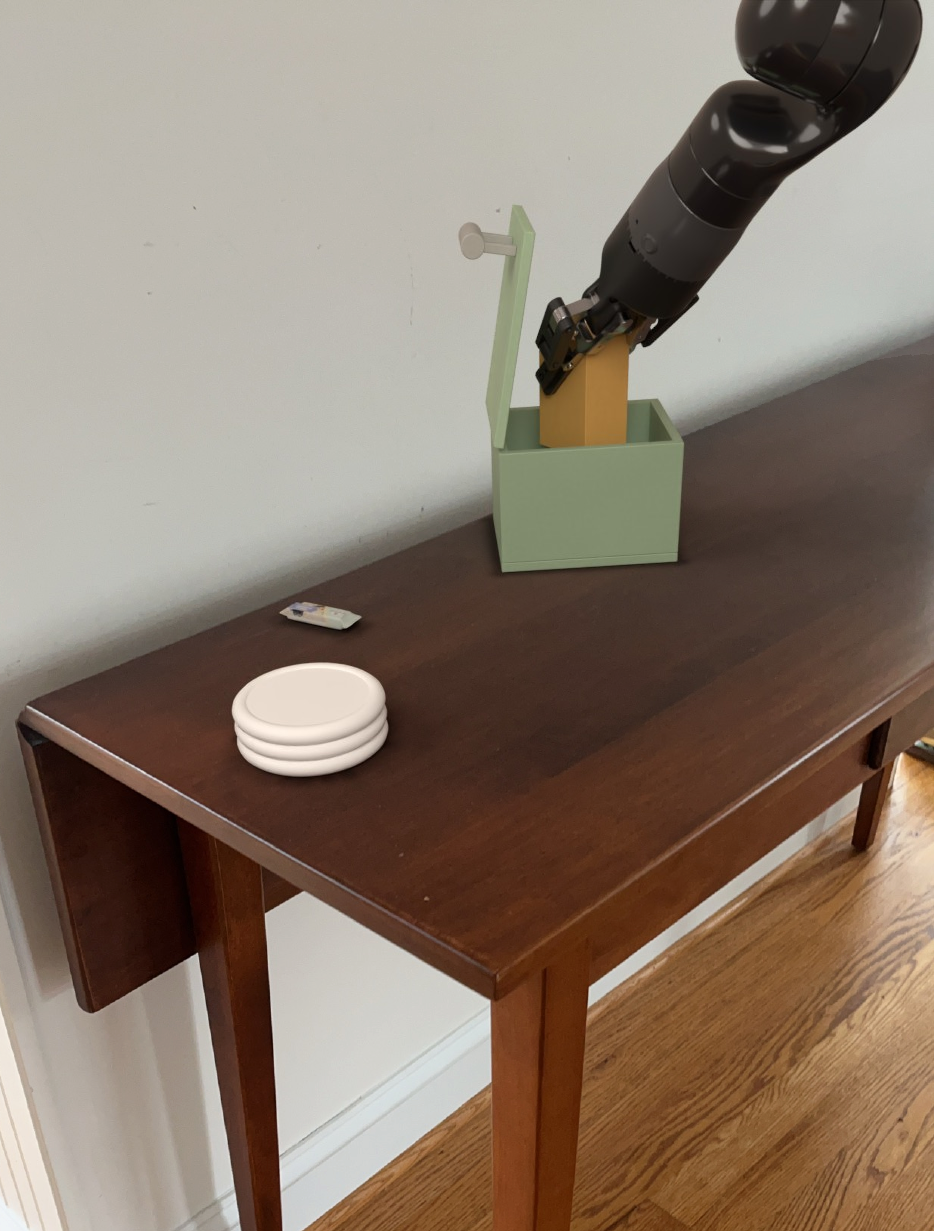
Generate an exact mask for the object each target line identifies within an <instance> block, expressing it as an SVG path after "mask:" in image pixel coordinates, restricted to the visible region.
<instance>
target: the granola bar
mask: <svg viewBox="0 0 934 1231" xmlns="http://www.w3.org/2000/svg"><path fill="white" fill-rule="evenodd" d="M278 613H279V614H281V615H283V616H286V617H287V619H288V620H289V619H290V620H292V621H297V622H302V623H307V624H311V625H316V626H321V627H325V628H329V629H333V630H343V629H347V628H349V627H351V626H352V625H353V624H354V623H356V622H357V621H359V620H360V619H362V616H361V615H359V614H355V613H353V612H352V611H350V610H346V609H341V608H336V607H332V606H331V607H330V606H327V605H322V604H317V603H312V602H306V601H301V600H296V601H295V602H293V603H292V604H290V605H289V606H287V607H285V608H284V609H282V610H281V611H279V612H278Z"/></svg>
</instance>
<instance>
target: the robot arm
mask: <svg viewBox="0 0 934 1231" xmlns="http://www.w3.org/2000/svg"><path fill="white" fill-rule="evenodd" d="M923 26H924V16H923V9H922V6H921V2H920V1H919V0H740V3H739V6H738V9H737V13H736V16H735V23H734V44H735V51H736V55H737V59H738V61H739V63H740V66H741V68H742V69H743V71H745V73H746V74H747V75H748V76H750V77H751V78H754V80H753V79H736V80H731V81H728V82H726V83H724V84H722V85H720V86H719V87H717V88H716V89H715V90H714V91H713V92H712V93H711V94H710V96H708V98H707V99H706V101H705V102H704V103H703V105H702V106H701V107H700V109H699V110H698V111H697V114H696V115H695V116H694V117H693V119H692V120H691V122H690V123H689V125H688V126H687V128H686V129H685V131H684V132H683V134H682V135H681V136H680V138H679V140H678V141H677V143H676V144H675V145H674V147H673V148H672V150H671V151H670V152H669V154H668V155H667V156H666V157H665V158H664V159H663V160H662V161H661V162H660V163H659V164H658V165H657V166H656V168H655V169H654V170H653V172H652V173H651V174H650V176H649V177H648V178H647V180H646V182H644V184H643V185H642V187H641V189H640V190H639V191H638V193H637V194H636V196H635V197H634V198H633V200H632V202H631V203H630V205H629V206H628V208H627V209H626V211H625V212H624V214H623V215H622V216H621V218H620V219H619V221H618V223H617V224H616V225H615V227H614V228H613V229H612V231H611V233H610V234H609V236H608V237H607V239H606V241H605V242H604V244H603V247H602V250H601V257H600V258H601V260H600V271H599V276H598V278H596V280H595V281H594V282H592V284H590V285H589V286H588V287H587V288H586V289H585V290H584V291H583V293H582V294H581V299H579V300H576V301H573V302H571V303H568V304H566V303H565V302H564V300H563V297H562V296H557V297H555V298H552V299H551V300H550V301H549V302H548V303H547V305H546V307H545V311H544V314H543V317H542V319H541V323H540V326H539V329H538V332H537V334H536V338H535V341H534V343H535V346H536V347H537V349H538V350H540V352H541V354H542V356H543V358H544V361H543V363H542V364H541V366H540V367H539V366H538V368H537V370H536V371H535V374H534V376H535V379H536V380H537V383H538V385H539V384H540V386H541V388H542V390H543V392H544V394H545V395H547V396H548V395H552V394H555V393H556V392H557V390H558V389H559V388H560V386H561V385H562V384H563V382H564V381H565V380H566V378H567V377H568V375H569V374H570V373H571V371H572V370H573V367H575V366H576V365H577V364H578V363H579V362H580V361H581V360H582V359H583V357H584V356H585V355H586V354H592V355H594V354H597V353H598V352H599V351H600V350H601V349H602V348H603V347H604V346H605V345H606V344H607V343H608V342H609V341H610V340H611V339H612V338H613V337H615V336H616V335H617V334H625V335H626V342H627V344H628V345H629V356H630V355H631V354H632V353H633V352H634V351H635V349H636V348H637V345H641V347H642V348H648V347H651V346H652V345H653V344H654V343H655V342H656V341H657V340H658V339H660V337H661V336H663V334H665V333H666V332H667V331H668V330H669V329H670V328H671V327H672V326H673V325H675V323H677V322H678V320H679V319H681V318H682V317H683V316H684V315H685V314H687V312H688V311H690V309H691V308H692V307H693V306H695V305H696V304H697V303H698V302H699V301H700V296H699V294H698V293H699V292H700V291H701V290H702V288H704V286H705V285H706V284H707V283H708V281H709V280H710V278H711V277H712V276H713V275H714V274H715V272H716V271H717V270H718V269H719V267H720V266H721V265H722V264H723V263H724V261H725V260H726V259H727V258H728V257H729V255H730V254H731V253H732V252H733V250H734V249H735V247H737V245H738V244H739V243H740V241H741V239H742V237H743V236H744V235H745V234H744V233H745V232H746V231H747V229H748V227H749V225H750V224H751V222H752V221H753V220H754V218H755V217H756V216H757V215H758V213H759V212H760V211H761V210H762V209H763V207H765V205H766V204H767V202H768V201H769V200H770V199H771V198H772V196H773V195H774V194H775V193H776V191H777V190H778V189H779V187H781V185H782V184H783V182H784V181H785V180H786V179H787V178H788V177H790V176H791V175H792V174H793V173H795V172H797V171H798V170H799V169H801V168H803V167H804V166H806V165H808V164H809V163H811V161H813V160H814V159H816V158H817V157H818V156H820V155H821V154H822V153H823V152H825V151H826V150H828V149H829V148H830V147H832V146H834V145H836V143H838V142H839V141H841V140H842V139H843V138H845V137H846V136H848V135H849V134H851V133H852V132H853V131H855V130H857V129H858V128H859V127H860V126H861V125H863V124H864V123H865V122H867V121H868V120H870V118H872V117H873V116H874V115H875V114H876V113H877V112H878V111H879V110H880V109H881V108H883V106H884V105H885V104H887V102H888V101H890V99H891V98H892V97H893V96H894V95H895V93H896V92H897V90H898V89H899V88H900V86H901V85H902V84H903V82H904V80H905V79H906V77H907V75H908V74H909V73H910V70H911V68H912V66H913V64H914V62H915V59H916V57H917V55H918V52H919V50H920V49H919V48H920V45H921V40H922V36H923V29H924V28H923ZM586 323H587V325H588V327H589V329H590V331H591V332H592V334H594V335H595V336H596V337H595V338H594V339H593V337H592V335H591V333H590V331H589V329H588V327H587V325H586ZM654 324H655V325H654ZM652 325H654V326H653V327H652ZM651 327H652V328H651ZM573 336H574V338H575V340H576V342H577V348H576V349H575V350H574V351H573V352H572V350H571V348H570V346H569V345H570V343H571V340H572V337H573Z"/></svg>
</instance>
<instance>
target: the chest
mask: <svg viewBox="0 0 934 1231" xmlns="http://www.w3.org/2000/svg"><path fill="white" fill-rule="evenodd" d="M683 440H684V439H683V438H682V437H681V435H680V434H679V432H678V430H677V428H676V426H675V425H674V423H673V421H672V419H671V418H670V416H669V415H668V412H667V411H666V409H665V408H664V406H663V404H662V402H661V400H659V398H645V399H642V398H641V399H630V400H629V399H628V401H627V431H626V444H610V445H594V446H578V447H562V448H549V447H547V446H544V445H541V444H540V405H536V406H519V407H517V406H516V407H510V410H509V417H508V423H507V430H506V437H505V444H504V448H503V449H501V448H494V445H493V440H492V435H491V434H490V454H491V457H490V458H491V459H490V460H491V486H492V487H491V488H492V489H491V491H492V519H493V525H494V531H495V537H496V538H495V539H496V542H497V550H498V555H499V562H500V568H501V572H502V573H514V572H530V571H549V570H563V569H579V568H580V569H581V568H594V567H595V568H597V567H609V566H610V567H611V566H627V565H643V564H657V563H658V564H661V563H674V562H675V563H676V562H678V559H679V558H678V556H679V555H678V554H679V539H680V538H679V537H680V524H681V505H682V502H681V501H682V489H683V488H682V487H683V474H684V473H683V472H684V453H685V442H684V441H683Z"/></svg>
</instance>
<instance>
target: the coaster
mask: <svg viewBox="0 0 934 1231" xmlns="http://www.w3.org/2000/svg"><path fill="white" fill-rule="evenodd" d="M385 703H386V692H385V689H384V687H383V685H382V684H381V682H380V681H379V680H378V678H377V677H375V676H374V675H372V674H371V673H369V672H367V671H365V670H363V669H361V668H358V667H355V666H351V665H348V664H343V663H337V662H336V663H335V662H308V663H307V662H306V663H298V664H292V665H288V666H284V667H280V668H276V669H273V670H271V671H268V672H265V673H263V674H261V675H259V676H258V677H256V678H254V679H252V680H251V681H249V682H248V683H247V684H245V685H244V686H243V687H242V688H241V689H240V690H239V691H238V693H237V694H236V695H235V697H234V699H233V702H232V706H231V715H232V719H233V721H234V732H235V734H236V736H237V737H236V744H237V748H238V751H239V752H240V754H241V756H242V758H244V759H245V760H246V761H247V762H248V763H249V764H251V765H252V766H254V767H256V768H257V769H260V770H262V771H265V772H267V773H270V774H274V775H279V776H286V777H296V778H297V777H298V778H303V777H306V778H307V777H318V776H325V775H331V774H334V773H338V772H342V771H345V770H348V769H350V768H353V767H355V766H357V765H359V764H361V763H364V762H365V761H367V760H368V759H369V758H371V757H372V756H373V755H375V754H376V753H377V752H378V751H379V750H380V749H381V748H382V747H383V746H384V744H385V742H386V740H387V736H388V733H389V724H388V720H387V717H388V709H387V706H386V704H385Z"/></svg>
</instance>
